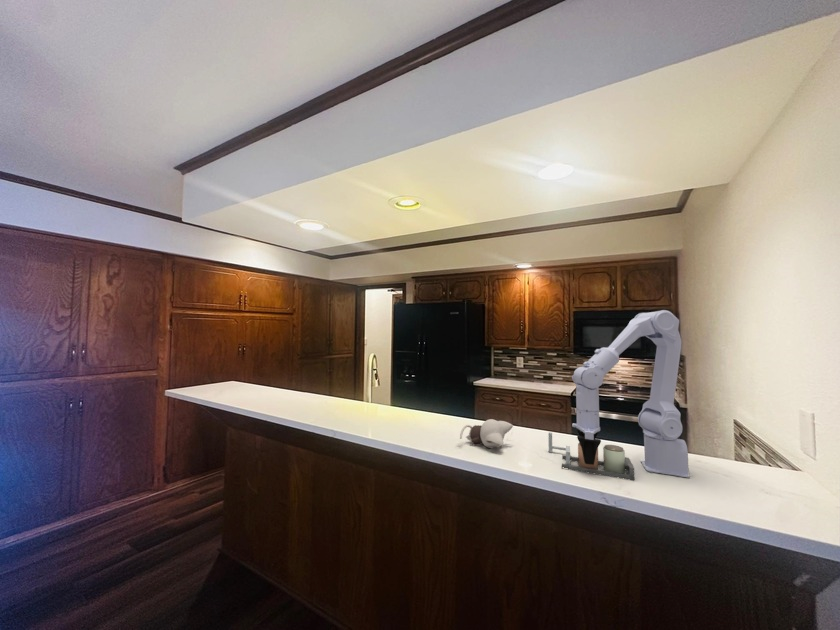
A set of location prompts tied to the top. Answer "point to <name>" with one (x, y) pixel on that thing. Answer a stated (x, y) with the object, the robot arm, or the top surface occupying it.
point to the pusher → (559, 448)
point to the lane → (628, 468)
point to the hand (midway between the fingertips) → (588, 459)
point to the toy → (488, 433)
